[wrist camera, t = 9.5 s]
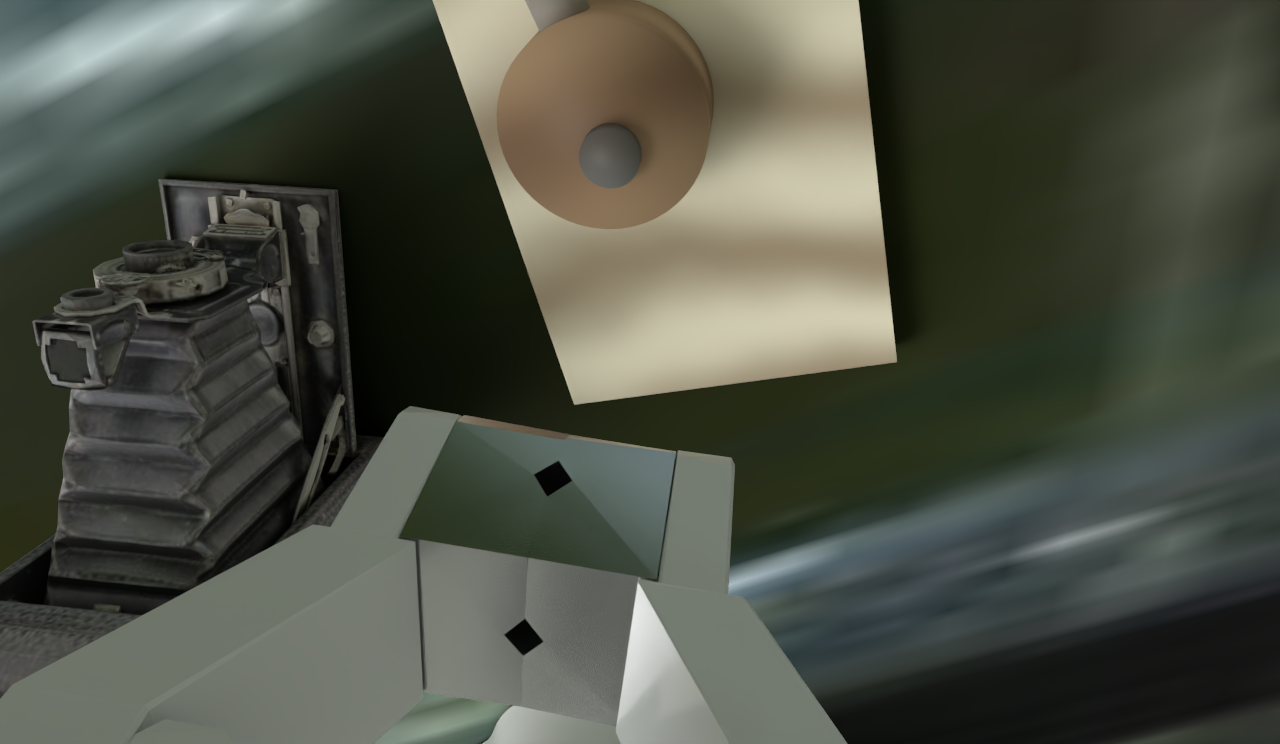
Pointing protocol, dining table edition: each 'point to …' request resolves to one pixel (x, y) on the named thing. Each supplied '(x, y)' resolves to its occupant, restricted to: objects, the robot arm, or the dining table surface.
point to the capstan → (606, 112)
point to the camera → (190, 412)
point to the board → (714, 211)
